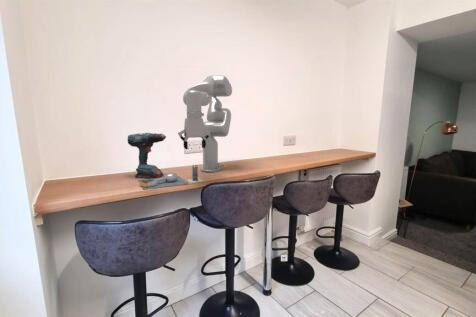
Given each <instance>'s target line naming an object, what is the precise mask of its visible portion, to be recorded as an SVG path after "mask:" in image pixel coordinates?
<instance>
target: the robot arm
mask: <svg viewBox="0 0 476 317" xmlns="http://www.w3.org/2000/svg"><path fill="white" fill-rule="evenodd" d="M232 93H233V87H232V84H231V83H230V80H229V79H228V77H227V76H225V75H221V74H220V75H208V76H206V77H205V79H204V80H203V81H202V82H201V83H198V84H196V85H194V86H190V87H188V89H186V91H184V93H183V97H182V98H183V99H182V102H183V103H184V105H185V106H186V118H184V124H183V129H182V130H181V131H179V132H178V133H177V135H178V136H179V138H180V139H181V141H183V148H184V149H185V150H188V148H189V146H188V144H189V143H188V139H190V138H191V139H192V138H194V139H195V138H201V147H202V167H201V168H200V171H201V172H204V173H217V172H219V171H220V172H221V168H223V167H225V166H226V165H225V163H219V160H218V159H219V153H218V151H219V143H218V140H217V139H216V138H215V137H217V138H218V137H219V138H221V137H222V138H225V137H227V136H228V135H229V131H230V128H231V127H230V126H231V120H232V112H231V110H230V108H227V107H226V108H225V107H223V104H222V102H221V101H220V99H219V98H221V97H224V98H225V97H226V98H227V97H230V96H232ZM217 97H219V98H217ZM206 106H208V109H207V112H206V121H204V118H203V117H204V116H205V113H203V111H202V107H206ZM183 135H184V136H183Z"/></svg>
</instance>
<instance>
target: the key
mask: <svg viewBox="0 0 476 317" xmlns="http://www.w3.org/2000/svg"><path fill="white" fill-rule="evenodd" d="M198 168H199V167H198V165H197V164H196V165H195V164H193V165H192V168H191V170H192V174H191V175H192V178H191V179H192V180H193V181H197V180H198V178H199V177H198V176H199V173H198V172H199V171H198V170H199V169H198Z"/></svg>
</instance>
